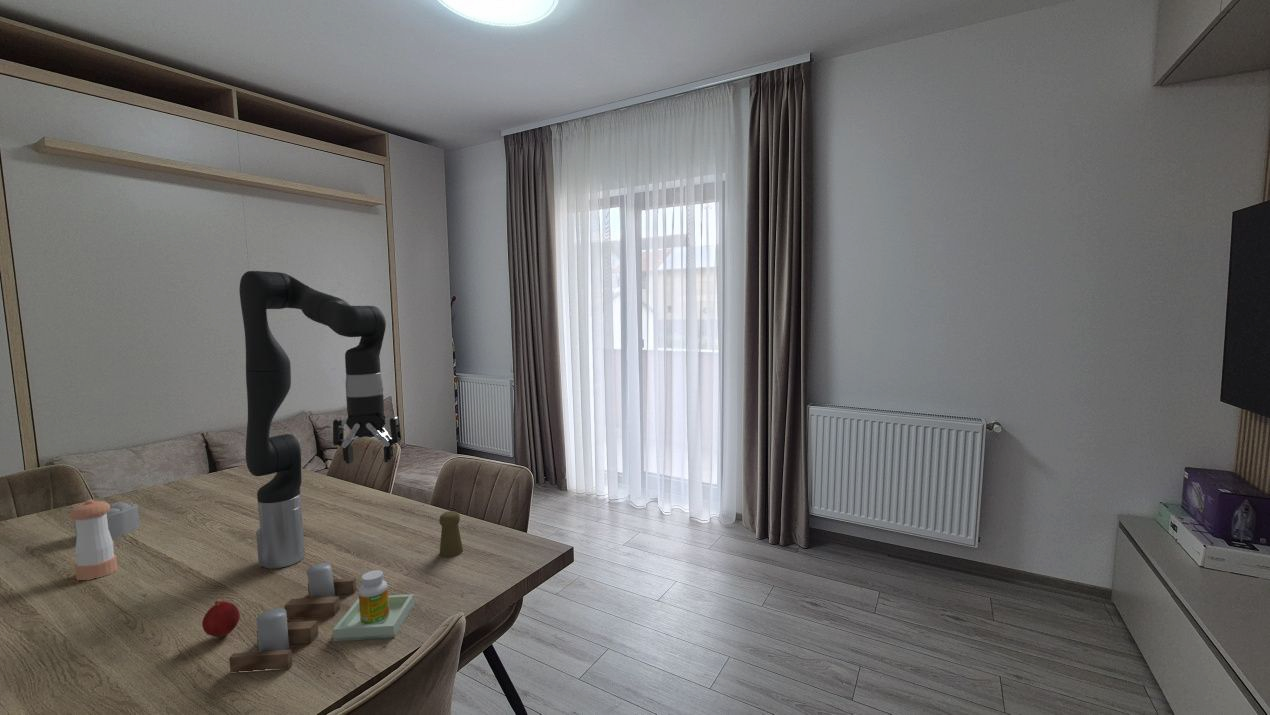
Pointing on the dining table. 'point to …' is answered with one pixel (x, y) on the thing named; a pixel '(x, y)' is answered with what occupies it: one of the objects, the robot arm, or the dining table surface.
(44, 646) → the dining table surface
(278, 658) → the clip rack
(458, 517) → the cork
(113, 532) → the grey egg carton
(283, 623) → the front canister
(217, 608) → the onion
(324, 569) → the cylinder
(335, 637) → the tray
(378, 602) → the supplement bottle
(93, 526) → the salt shaker
